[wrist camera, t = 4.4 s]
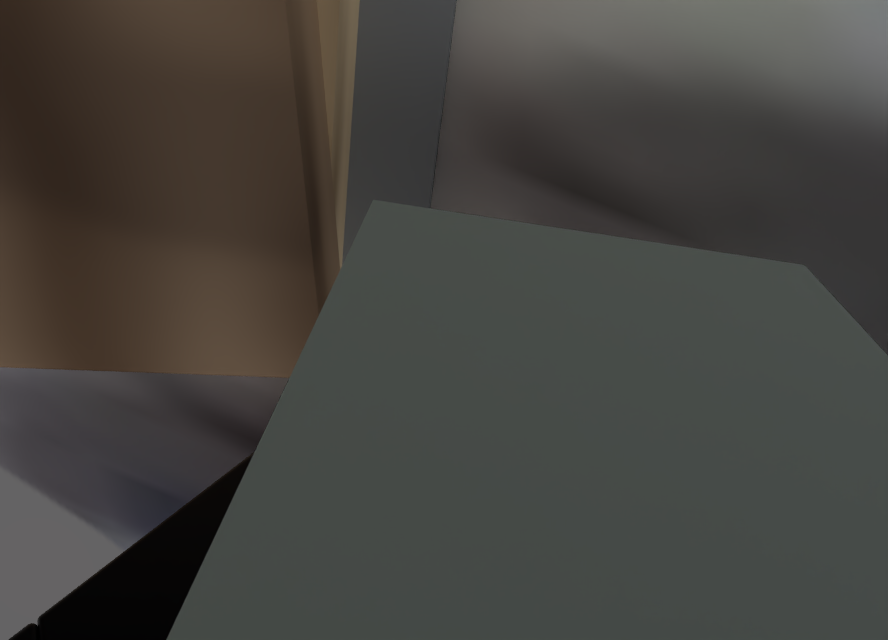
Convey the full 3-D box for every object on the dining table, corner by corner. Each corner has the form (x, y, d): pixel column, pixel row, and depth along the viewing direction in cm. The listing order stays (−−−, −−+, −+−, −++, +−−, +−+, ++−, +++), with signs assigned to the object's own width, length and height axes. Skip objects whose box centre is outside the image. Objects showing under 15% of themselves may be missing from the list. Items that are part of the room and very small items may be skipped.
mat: (466, -77, 16) (465, -77, 16) (413, 336, 21) (412, 343, 21) (-138, -167, 16) (-152, -170, 16) (-41, 266, 22) (-50, 271, 21)
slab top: (308, -94, 14) (274, -98, 12) (345, 330, 18) (325, 379, 16) (-145, -87, 15) (-251, -91, 13) (-2, 319, 19) (-63, 364, 17)
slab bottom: (363, -54, 16) (342, -53, 14) (339, 309, 21) (321, 349, 19) (-46, -116, 16) (-125, -123, 14) (20, 260, 21) (-32, 295, 19)
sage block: (803, 265, 8) (1365, 876, 3) (677, 567, 11) (854, 1199, 5) (373, 200, 8) (141, 694, 3) (345, 518, 11) (190, 1104, 5)
